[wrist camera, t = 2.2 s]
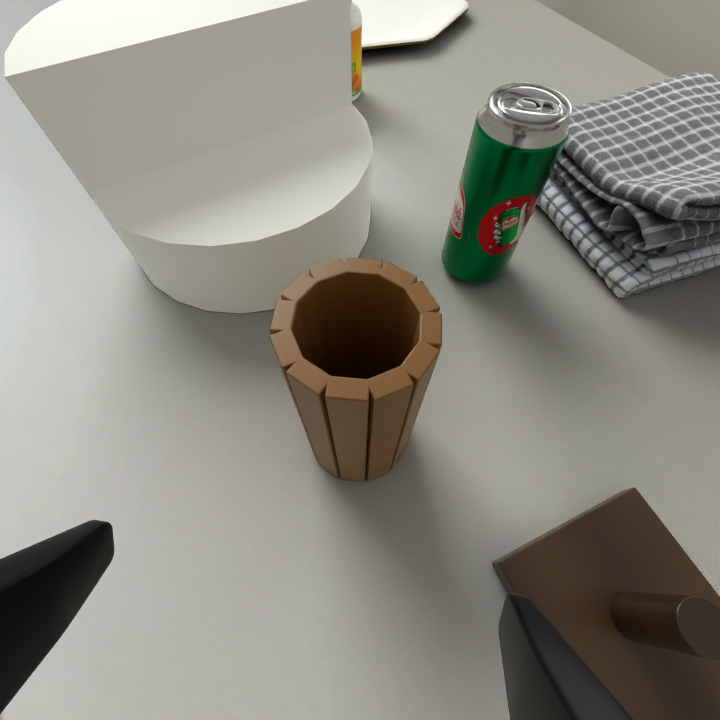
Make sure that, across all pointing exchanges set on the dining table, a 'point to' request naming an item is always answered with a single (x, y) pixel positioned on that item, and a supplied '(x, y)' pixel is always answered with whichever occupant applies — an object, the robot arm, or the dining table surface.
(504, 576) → the peg stand
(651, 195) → the towel
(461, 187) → the soda can
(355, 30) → the supplement bottle
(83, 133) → the white stepped round block
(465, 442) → the dining table surface
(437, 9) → the plate
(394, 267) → the slatted wooden pen holder
